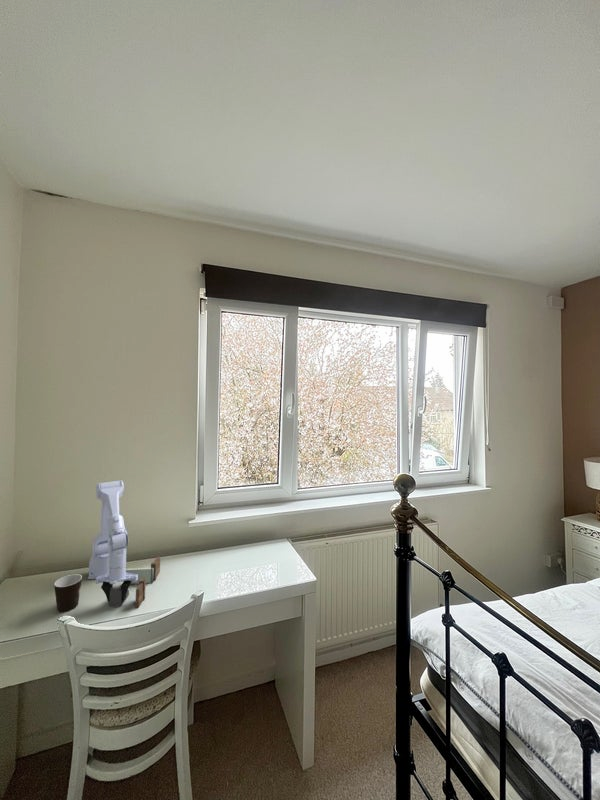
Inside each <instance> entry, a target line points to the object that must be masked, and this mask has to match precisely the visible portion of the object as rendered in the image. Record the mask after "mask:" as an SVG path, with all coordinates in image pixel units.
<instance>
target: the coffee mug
mask: <svg viewBox="0 0 600 800" xmlns="http://www.w3.org/2000/svg"><path fill="white" fill-rule="evenodd" d="M82 580H83V575H81V574H78V573H77V574H76V573H74V574H69V575H65V576H62V577H60V578H58V579H56V580H55V582H54V583H53V588H54V594H55V603H56V610H57V612H58V613H67V612H70V611H72V610H74V609H76V608H77V607H78V605H79V601H80V593H81V588H82V587H81V586H82Z"/></svg>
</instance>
